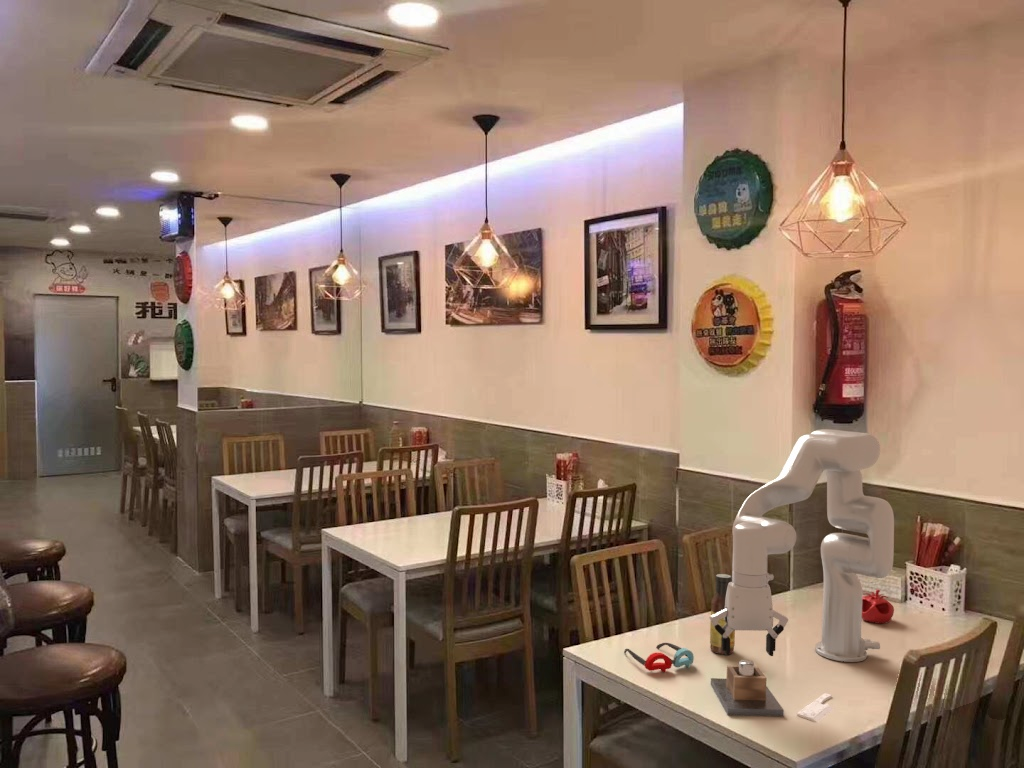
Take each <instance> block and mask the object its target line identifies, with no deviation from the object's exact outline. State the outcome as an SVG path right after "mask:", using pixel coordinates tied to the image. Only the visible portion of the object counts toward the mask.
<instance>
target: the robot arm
mask: <svg viewBox="0 0 1024 768" xmlns="http://www.w3.org/2000/svg"><path fill="white" fill-rule="evenodd" d="M880 455H881V445H880V441H879V440H878V438H877V437H876V436H875V435H873V434H871V433H868V432H867V433H866V432H858V431H849V430H848V431H847V430H841V429H840V430H839V429H825V428H824V429H823V428H822V429H817V430H814V431H812V432H811V433H807V434H803V435H801V436H800V437H799V438H797V440H796V442H795V443H794V445H793V448H792V449H791V451H790V453H789V454H788V456H787V458H786V461H785V462H784V464H783V466H782V468H781V470H780V472H779V474H778V476H777V477H776V478H775V479H773V480H771V481H769V482H767V483H765V484H764V485H762V486H761V487H759V488H758V489H756V490H755V491H753V492H752V493H751V494H749V496H748V497H747V498H746V499H745V500H744V501H743V503H742V505H741V506H740V509H739V510H738V512H737V514H736V517H735V519H734V520H733V523H732V529H731V530H732V566H731V567H732V571H731V572H732V574H731V577H732V582H729V583H728V587H727V592H726V599H725V608H724V609H723V610H721V611H719V612H717V613H715V614H713V615H711V614H710V616H709V619H710V623H711V622H712V624H713V626H714V628H715V629H716V630H717V631H718V632H719V633H720V634H721V635H722V638H721V648H722V650H723V651H724V652H725V654H724V655H726V656H728V657H729V656H730V655H731V653H730V638H729V635H730V634H731V633H732V632H733V630H735V631H755V632H756V631H767V634H766V635H765V637H766V638H765V651H766V653H767V654H768V655H769V656H770V657H773V656H774V652H775V651H776V645H777V644H776V639H778V638H779V635H780V634H781V633H782V632H783V631H784V630H785V627H786V626H787V624H788V622H789V619H788V617H787V616H786V615H784V614H782V613H780V612H778V611H777V610H774V607H773V605H774V604H773V597H772V591H771V587H770V585H769V581H773V580H774V578H775V576H774V574H773V573H769V572H768V556H769V555H782V554H783V555H784V554H786V553H788V552H790V551H792V549H793V548H794V546H795V545H796V542H797V532H796V530H795V528H794V526H793V525H792V524H790V523H788V522H787V521H784V520H779V519H775V518H770V517H765V516H763V515H764V514H766V513H768V512H769V511H771V510H773V509H775V508H777V507H781V506H786V505H787V506H788V505H790V504H794V503H798V502H802V501H806V500H807V499H809V498H810V497H811V495H813V494H812V493H813V492H814V490H815V487H816V485H817V484H818V481H819V479H820V478H821V476H822V473H823V472H825V476H826V512H827V516H826V517H827V521H828V522H829V524H830V525H831V526H832V527H833V528H834V527H835V528H836V529H841V530H845V531H848V532H849V531H850V532H854V533H859V534H866V535H867V536H868V537H864V536H860V535H856V534H855V535H854V534H849V533H844V532H832V533H831V532H830V533H829V534H827V535H826V536H825V537H824V538H823V539H822V541H821V544H820V557H821V564H822V571H823V572H822V573H823V590H822V593H823V595H822V617H821V618H822V619H821V641H818V642H817V643H815V645H814V651H815V652H816V653H817V654H818V655H820V656H822V657H824V658H826V659H829V660H833V661H837V662H843V661H844V663H857V662H858V663H859V662H863V661H865V660H866V659H867V657H868V653H867V651H868V650H869V649H870V650H880V648H881V645H880V644H881V643H880V642H879V641H871V639H870V638H862V624H863V623H862V622H863V621H862V620H863V619H862V597H863V596H864V593H863V591H864V589H863V585H862V583H861V581H860V579H859V577H858V575H861V576H865V577H869V578H874V579H883V578H887V577H888V576H889V575H890V574H891V573H892V570H893V566H894V557H895V556H894V551H895V548H894V545H895V544H894V543H895V516H894V510H893V508H892V506H891V504H890V503H889V502H888V501H887V500H885V499H884V498H880V497H877V496H869V495H864V491H863V474H862V470H864V469H869V468H871V467H872V466H875V464H876V463H877V462H878V460H879V457H880ZM722 618H724V621H725V622H726V624H725V625H724V626H723V627H721V626H720V625H719V623H718V620H720V619H722ZM774 619H777V620H778V623H777V624H776V625H774ZM773 626H774V627H773Z"/></svg>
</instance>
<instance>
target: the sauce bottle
mask: <svg viewBox="0 0 1024 768" xmlns="http://www.w3.org/2000/svg"><path fill="white" fill-rule="evenodd" d="M715 582H716V585H715V586H716V588H715V593H714V595H713V596H712V598H711V605H710V607H711V609H710V616H711V615H713V614H715V613H717V612H719V611H721V610H723V609H724V608H725V599H726V592H727V587H728V583H729V582H732V575H729V574H727V573H726V574H725V573H718V574H716V575H715ZM718 623H719V625H720V626H721V627H723V626H724V625H725V624H726V622H725V621H724V618H722V619H720V620H718ZM709 624H710V626H709V627H710V628H709V629H710V630H709V631H710V632H709V634H710V635H709V636H710V637H709V644H710V646H709V647H710V651H712V652H713V653H716V654H719V655H726V654H725V652H724V651H723V650H722V648H721V638H722V635H721V634H720V633H719V632H718V631H717V630H716V629H715V628H714V626H713V624H712V622H711V621H710V623H709ZM735 634H736V630H733V632H732V633H731V634H730V635H729V638H730V654H733V652H734V649H735V641H736V640H735V639H736V638H735Z"/></svg>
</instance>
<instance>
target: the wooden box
mask: <svg viewBox="0 0 1024 768" xmlns="http://www.w3.org/2000/svg"><path fill="white" fill-rule="evenodd" d="M726 679H727V680H726V687H727V688H728V690H729V692H730V694H731V695H732V697H733V699H734V700H766V686H767V676H766V675H765V674H764V672H763V671H762V670H761V668H760V667H759V666H758V665H754V676H739V664H738V665H735V664H732V665H731V664H727V665H726Z"/></svg>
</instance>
